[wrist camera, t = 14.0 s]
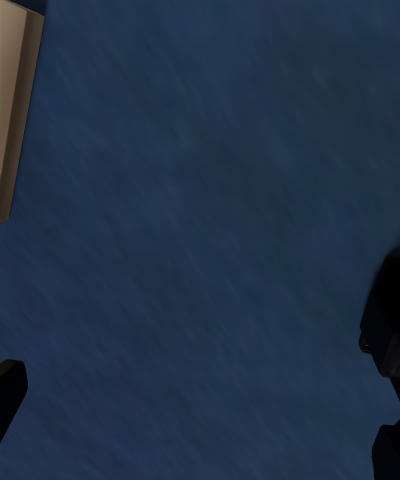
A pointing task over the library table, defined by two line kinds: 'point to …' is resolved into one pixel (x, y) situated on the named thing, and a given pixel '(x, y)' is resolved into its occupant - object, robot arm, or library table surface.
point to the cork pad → (15, 89)
